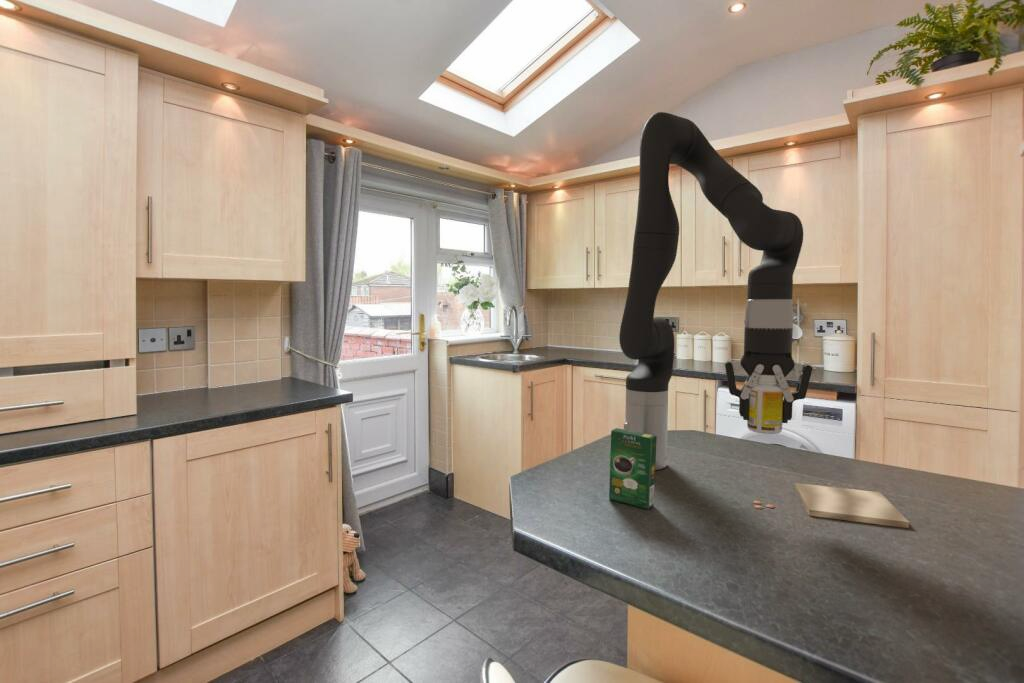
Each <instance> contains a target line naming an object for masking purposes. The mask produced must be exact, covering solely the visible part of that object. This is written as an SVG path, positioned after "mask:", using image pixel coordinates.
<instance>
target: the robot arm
mask: <svg viewBox="0 0 1024 683" xmlns="http://www.w3.org/2000/svg"><path fill="white" fill-rule="evenodd" d="M670 165H675V166H678V167H680V168H681V169H684V170H686V171H687V172H689V173H690V174H691V175H692V176H694V178H695V179H696V180H697V182H698V184H699V187H700V190H701V191H702V193H703V196H704V197H705V199H706V200H707V201H708V202H709V203H710V204H711V205H712V206H713V207H714V208H715V209H716V210H717V211H718V212H719V213H721V215H723V217H725V218H726V219H727V220H728V223H729V224H730V227H731V228H732V230H733V231H734V233H735V235H736V236H737V237H738V239H739V240H740V241H741V242H742V243H743V244H744V245H745V246H747V247H749V248H750V249H752V250H755V251H760V252H761V251H762V256H761V260H760V263H759V265H757V266H755V267H752V268H751V269H750V270H749V273H748V276H747V291H746V292H747V294H746V296H747V297H746V299H747V300H746V306H745V307H746V308H745V312H744V313H745V314H744V321H743V324H744V334H743V336H744V338H743V355H742V357H741V358H740V360H734V361H730V360H726V361H725V362H724V370H725V375H726V380H727V387H728V392H729V394H730V395H732V396H734V397H737V398H739V400H738V402H739V403H738V404H739V405H738V407H739V409H738V413H739V415H740V417H742V419H743V421H747V420H748V409H749V400H748V396H749V394H750V392H751V389H752V388H753V387H754V386H755V384H756V382H757V380H758V378H759V376H760V375H775V376H776V379H777V381H778V384H777V385H779V386H780V387H781V389H782V391H783V420H782V424H788V421H792V418H793V404H794V402H795V401H798V400H804V399H805V398H806V396H807V393H808V388H809V384H810V380H811V377H812V376H811V375H812V372H813V367H812V365H810V364H808V363H800V362H799V363H798V362H795V360H794V359H793V356H792V355H793V354H792V352H793V332H794V330H793V329H794V309H793V308H794V307H793V288H794V287H793V286H794V272H795V271H796V267H797V265H798V261H799V258H800V254H801V251H802V247H803V243H804V226H803V224H802V220H801V219H800V217H799V216H797V215H796V214H795V213H793V212H792V211H788V210H787V211H785V210H780V209H773V208H771V207H770V206H768V205H767V204H766V203H764V201H763V200H764V198H763V194H762V192H761V191H760V190H759V189H758V187H757V186H756V185H754V184H753V182H751V181H749V180H748V179H747V178H746V177H745V176H744V175H742V174H741V173H740V172H739V171H738V170H737V169H736V168H734V166H732V165H731V164H730V163H729V162H727V161H726V160H725V159H724V158H723V156H722V155H720V154H719V152H718V151H717V150H716V149H715V148H714V147H713V146H712V144H711V143H710V141H708V139H707V137H706V136H705V134H704V133H703V132H702V130H701V129H700V127H699V126H697V125H696V124H695V122H693V121H692V120H690V119H688V118H686V117H682V116H679V115H676V114H673V113H669V112H665V111H660V112H659V111H658V112H656V113H653V114H652V115H650V117H649V118H648V119H647V121H646V122H645V124H644V126H643V129H642V132H641V136H640V143H639V181H638V182H639V183H638V184H639V185H638V187H639V188H638V199H637V209H636V210H637V211H636V221H635V228H634V233H633V244H632V256H631V257H632V258H631V266H630V273H629V280H628V281H629V282H628V289H627V294H626V299H625V304H624V307H623V308H624V310H623V314H622V318H621V321H620V322H621V323H620V330H619V335H618V336H619V337H618V338H619V346H620V349H621V352H622V353H623V354H624V356H625V357H627V358H628V359H629V360H630V359H631V360H638V362H637V364H636V367H635V368H634V370H632V371H631V372H630V373H629V374H628V375H627V376H626V378H625V415H624V416H625V418H624V419H625V422H624V423H623V429H624V430H629V431H635V432H640V433H646V434H651V435H656V436H657V441H656V465H655V471H658V470H662V469H665V468H666V467H667V466H668V465H667V463H668V424H669V420H668V417H669V413H668V412H669V383H670V380H671V378H672V377H673V376H672V375H673V371H674V370H673V369H674V357H675V334H674V331H673V328H672V325H671V324H670V322H668V321H667V320H666V319H665V318H661V317H655V316H654V315H655V308H656V303H657V299H658V295H659V292H660V290H661V288H662V286H663V284H664V282H666V281H665V280H666V279H667V277H668V276H669V273H671V272H670V271H672V269H673V266H674V264H675V261H676V258H677V253H678V246H679V237H680V236H679V235H680V222H679V217H678V213H677V210H676V207H675V204H674V202H673V198H672V196H671V191H670V184H669V181H670V180H669V179H670V178H669V175H670ZM740 367H742V368H743V370H744V371H745V372H746V374H747V377H746V379H745V381H744V383H743V385H742V387H741V389H740V388H737V384H736V378H735V374H737V373H738V371H739V368H740ZM793 369H795V373H796V375H797V376H798V381H797V384H796V387H795V390H794V391H791V389H790V387H789V384H788V382H787V379H786V377H787V376H788V375H789V374H790V373H791V372H792V371H793Z"/></svg>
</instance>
